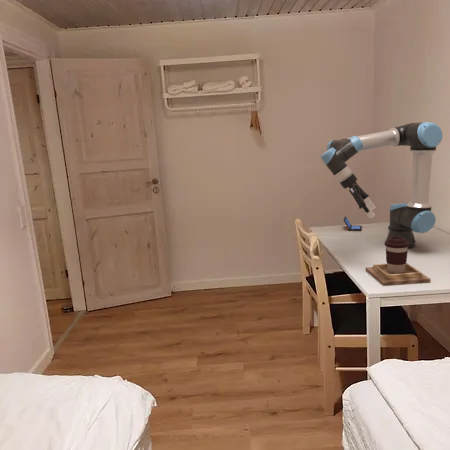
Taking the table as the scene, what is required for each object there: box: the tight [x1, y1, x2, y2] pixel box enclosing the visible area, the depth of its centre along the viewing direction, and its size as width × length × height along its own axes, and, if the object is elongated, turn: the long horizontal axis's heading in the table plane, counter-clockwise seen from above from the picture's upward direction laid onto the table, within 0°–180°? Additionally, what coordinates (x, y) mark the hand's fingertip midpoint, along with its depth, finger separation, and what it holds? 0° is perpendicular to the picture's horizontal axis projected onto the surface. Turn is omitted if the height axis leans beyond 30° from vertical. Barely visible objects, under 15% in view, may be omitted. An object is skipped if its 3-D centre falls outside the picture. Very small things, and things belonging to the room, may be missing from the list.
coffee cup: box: [384, 237, 409, 274], centre depth 191 cm, size 10×10×15 cm
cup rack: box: [365, 262, 432, 287], centre depth 191 cm, size 20×20×4 cm
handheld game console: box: [343, 216, 363, 232], centre depth 278 cm, size 12×11×7 cm
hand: (373, 213), depth 206 cm, fingers open, 13 cm apart
